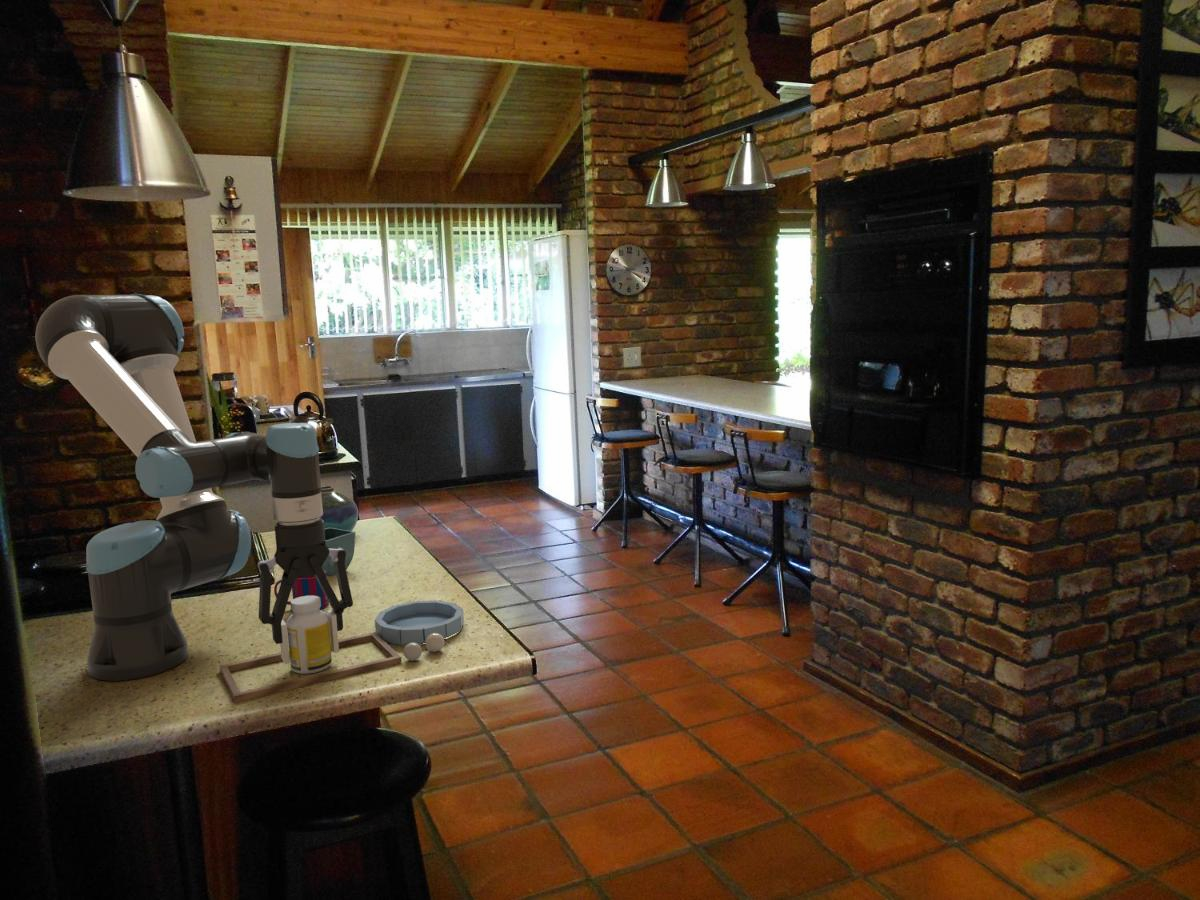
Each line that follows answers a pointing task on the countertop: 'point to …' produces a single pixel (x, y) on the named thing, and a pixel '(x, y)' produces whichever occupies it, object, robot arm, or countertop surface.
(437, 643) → the pebble
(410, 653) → the glossy pale sphere
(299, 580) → the mug
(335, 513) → the vase
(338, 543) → the flower pot
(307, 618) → the pill bottle
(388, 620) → the bowl
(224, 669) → the open rectangular frame
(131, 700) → the countertop surface
